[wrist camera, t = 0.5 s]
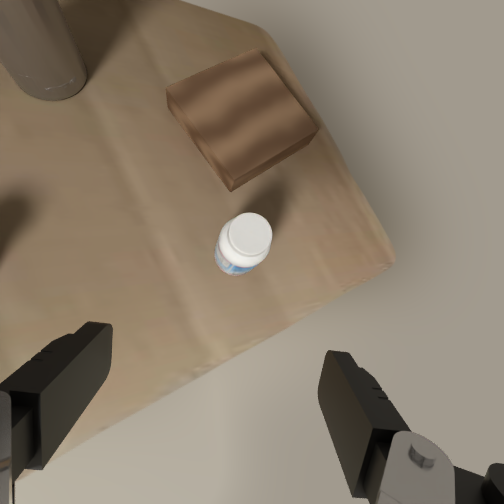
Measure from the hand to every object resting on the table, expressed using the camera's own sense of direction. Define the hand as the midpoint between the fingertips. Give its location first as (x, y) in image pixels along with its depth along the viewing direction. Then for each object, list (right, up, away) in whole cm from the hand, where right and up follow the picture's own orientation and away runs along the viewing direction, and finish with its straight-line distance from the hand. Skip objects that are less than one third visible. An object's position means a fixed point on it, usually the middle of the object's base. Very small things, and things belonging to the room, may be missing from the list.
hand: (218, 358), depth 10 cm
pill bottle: (-1, +4, +30) cm, 30 cm away
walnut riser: (0, +24, +34) cm, 41 cm away
